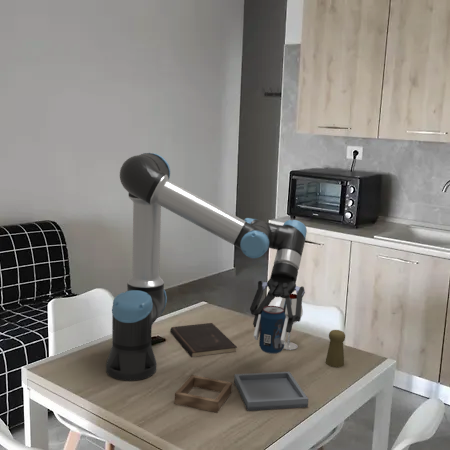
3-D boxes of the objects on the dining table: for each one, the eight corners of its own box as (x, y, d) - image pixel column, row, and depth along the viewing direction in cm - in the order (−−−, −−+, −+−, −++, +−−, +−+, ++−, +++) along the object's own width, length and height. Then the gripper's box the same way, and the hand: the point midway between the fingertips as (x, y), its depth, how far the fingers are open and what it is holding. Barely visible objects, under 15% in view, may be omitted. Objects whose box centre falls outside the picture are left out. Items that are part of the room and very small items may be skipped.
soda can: (265, 343, 170) (267, 303, 168) (287, 348, 167) (290, 307, 164) (254, 351, 164) (256, 310, 162) (277, 356, 161) (280, 315, 158)
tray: (247, 410, 158) (248, 402, 158) (234, 382, 175) (234, 374, 174) (307, 407, 162) (308, 398, 161) (289, 379, 178) (289, 371, 178)
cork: (346, 361, 193) (349, 330, 190) (341, 368, 187) (344, 336, 185) (328, 357, 195) (330, 326, 193) (323, 364, 190) (325, 332, 187)
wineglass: (294, 353, 198) (297, 301, 194) (272, 347, 202) (275, 296, 198) (304, 345, 205) (307, 295, 201) (282, 339, 209) (286, 291, 205)
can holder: (174, 403, 160) (174, 393, 160) (191, 384, 172) (191, 374, 171) (217, 412, 157) (217, 402, 156) (231, 392, 168) (232, 382, 168)
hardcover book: (211, 328, 218) (212, 322, 217) (236, 353, 197) (237, 346, 196) (170, 333, 212) (170, 327, 211) (191, 359, 191) (191, 352, 190)
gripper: (320, 278, 173) (306, 351, 161) (255, 270, 179) (237, 339, 167) (318, 265, 167) (303, 339, 155) (251, 257, 173) (231, 328, 161)
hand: (269, 339), depth 161 cm, fingers closed on soda can, 7 cm apart
